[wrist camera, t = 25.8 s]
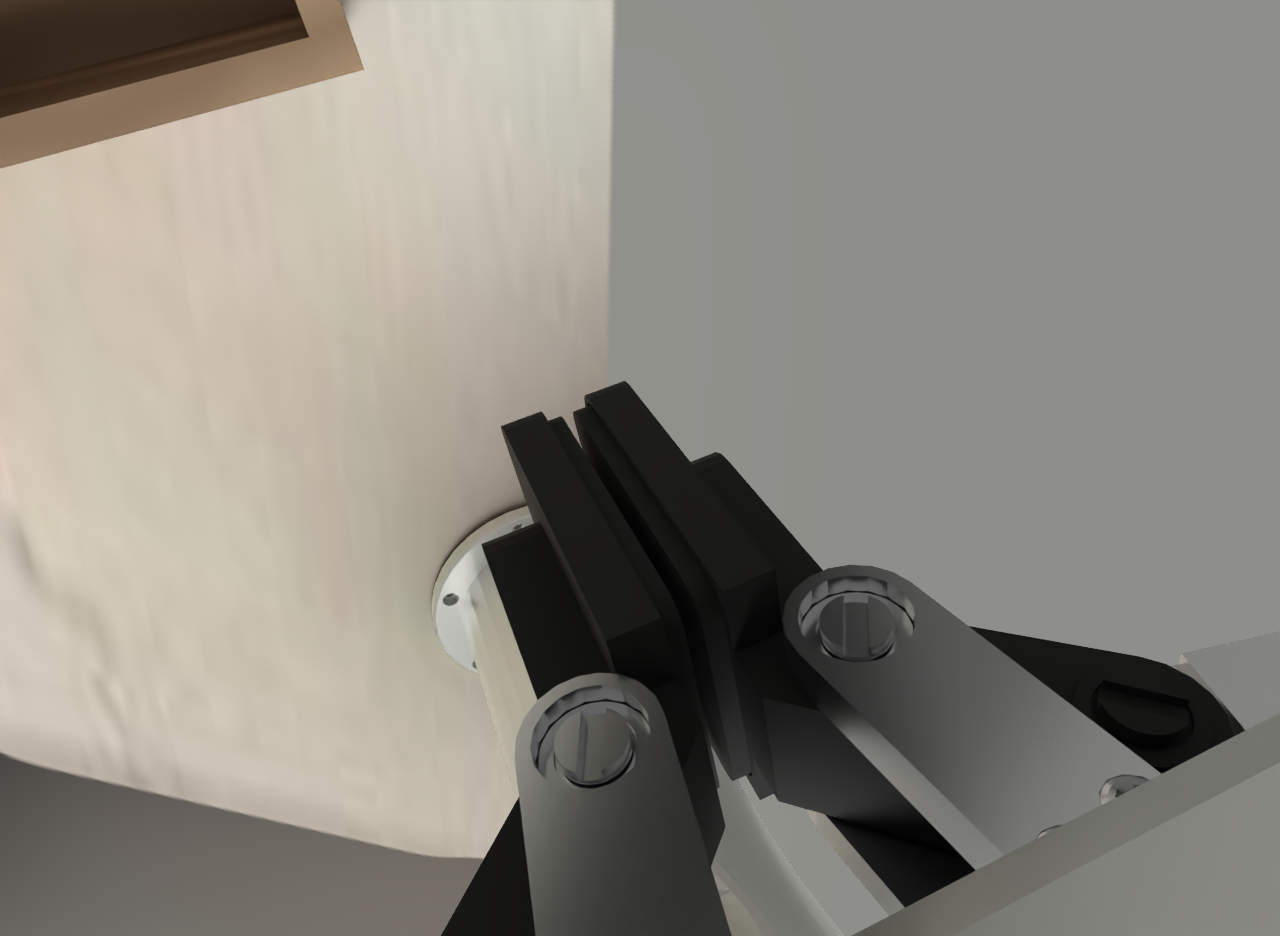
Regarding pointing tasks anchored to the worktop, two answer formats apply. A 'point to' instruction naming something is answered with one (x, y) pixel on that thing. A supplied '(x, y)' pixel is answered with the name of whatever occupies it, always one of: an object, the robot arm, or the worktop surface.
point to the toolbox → (152, 63)
